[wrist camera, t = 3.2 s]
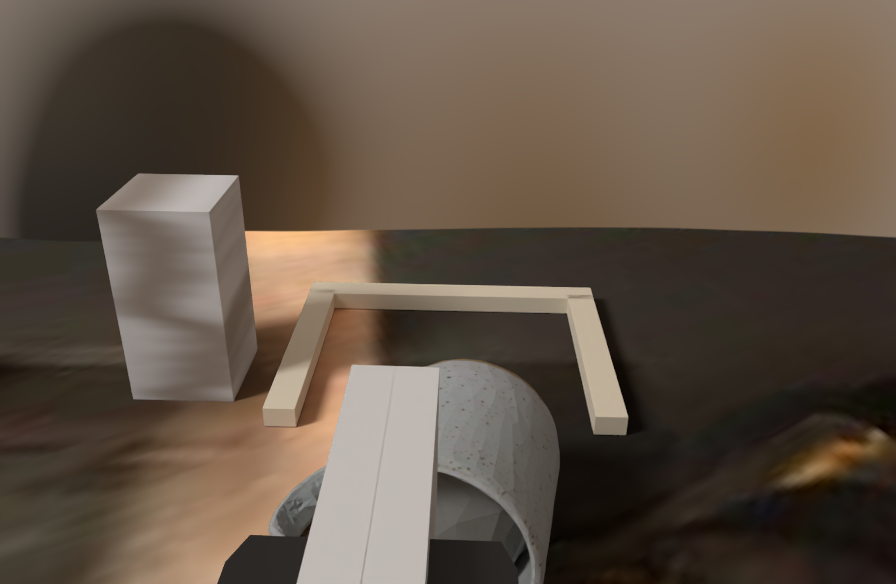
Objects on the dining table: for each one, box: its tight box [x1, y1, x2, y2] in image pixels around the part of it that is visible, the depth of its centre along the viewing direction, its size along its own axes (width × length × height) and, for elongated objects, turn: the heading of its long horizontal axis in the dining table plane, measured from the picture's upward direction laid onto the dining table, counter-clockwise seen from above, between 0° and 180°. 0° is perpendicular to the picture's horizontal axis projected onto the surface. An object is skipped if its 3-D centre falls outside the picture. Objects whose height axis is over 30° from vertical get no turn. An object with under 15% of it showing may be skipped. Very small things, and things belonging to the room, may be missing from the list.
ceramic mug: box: [269, 359, 560, 584], centre depth 29 cm, size 11×8×8 cm
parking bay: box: [263, 282, 628, 435], centre depth 44 cm, size 17×14×1 cm
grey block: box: [96, 174, 258, 402], centre depth 40 cm, size 5×5×10 cm
